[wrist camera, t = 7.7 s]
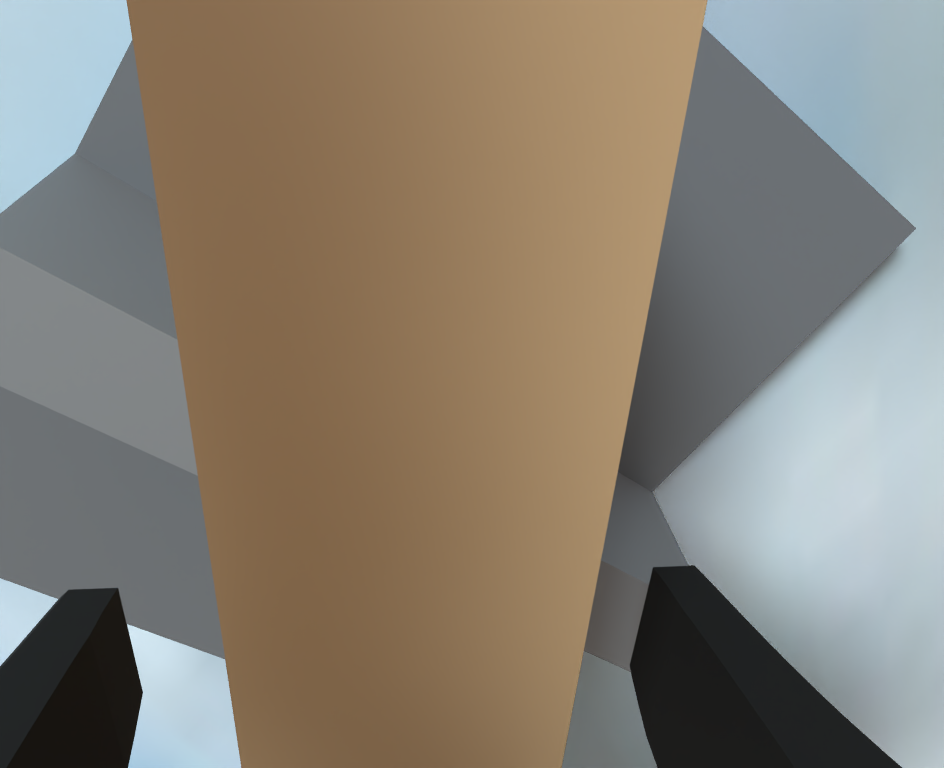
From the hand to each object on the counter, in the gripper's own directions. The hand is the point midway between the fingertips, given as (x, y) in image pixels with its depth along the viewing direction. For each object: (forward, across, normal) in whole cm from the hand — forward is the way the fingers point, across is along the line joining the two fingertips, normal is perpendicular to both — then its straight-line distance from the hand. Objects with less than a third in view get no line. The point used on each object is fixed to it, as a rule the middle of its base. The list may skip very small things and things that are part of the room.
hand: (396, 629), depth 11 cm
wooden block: (+3, 0, 0) cm, 3 cm away
